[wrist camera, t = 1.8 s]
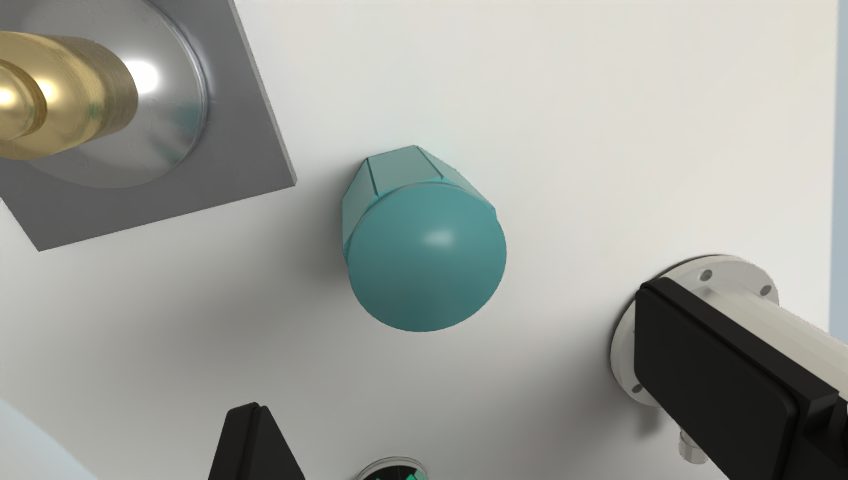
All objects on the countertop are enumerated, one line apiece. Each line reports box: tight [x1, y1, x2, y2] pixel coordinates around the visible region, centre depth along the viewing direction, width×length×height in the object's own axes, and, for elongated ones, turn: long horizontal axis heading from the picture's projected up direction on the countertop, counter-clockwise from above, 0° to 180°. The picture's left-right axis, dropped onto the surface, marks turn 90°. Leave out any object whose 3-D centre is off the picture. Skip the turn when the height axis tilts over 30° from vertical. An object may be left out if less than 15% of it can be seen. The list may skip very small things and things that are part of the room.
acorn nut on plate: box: [0, 0, 297, 252], centre depth 15 cm, size 12×12×8 cm
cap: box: [342, 145, 507, 332], centre depth 20 cm, size 6×6×7 cm
